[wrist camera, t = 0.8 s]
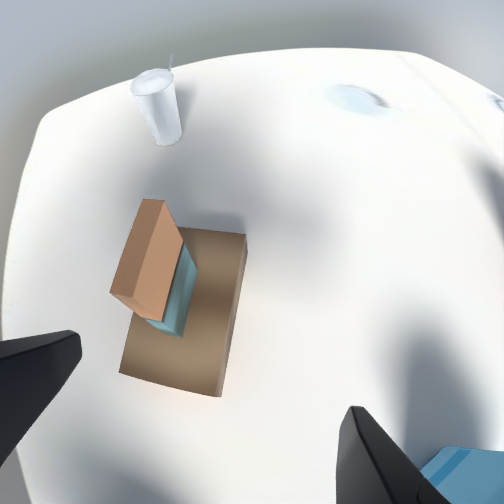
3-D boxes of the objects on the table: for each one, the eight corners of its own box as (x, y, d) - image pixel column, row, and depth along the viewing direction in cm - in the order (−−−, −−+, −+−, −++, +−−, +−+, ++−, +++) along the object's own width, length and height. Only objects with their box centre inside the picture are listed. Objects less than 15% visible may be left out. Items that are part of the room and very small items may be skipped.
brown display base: (221, 397, 21) (200, 396, 14) (135, 376, 21) (85, 363, 15) (247, 252, 26) (241, 198, 19) (170, 242, 27) (142, 190, 20)
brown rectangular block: (161, 321, 16) (132, 297, 12) (141, 317, 16) (109, 292, 12) (183, 240, 18) (164, 200, 14) (164, 238, 18) (143, 199, 14)
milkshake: (200, 130, 33) (185, 57, 25) (164, 156, 32) (139, 82, 23) (177, 117, 35) (160, 50, 26) (143, 140, 33) (117, 73, 24)
